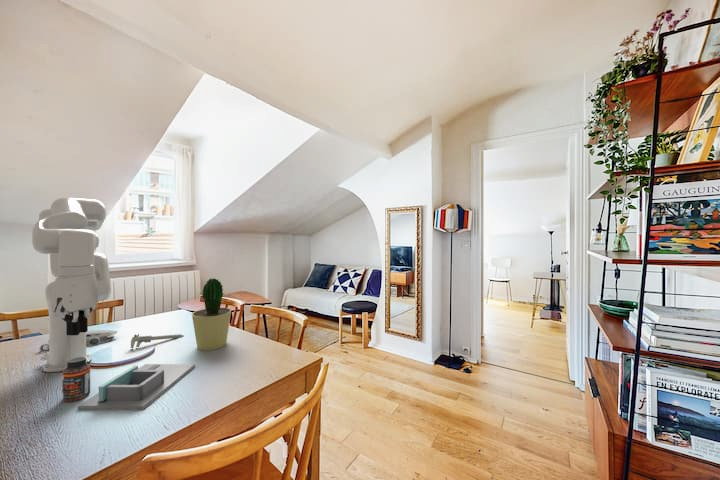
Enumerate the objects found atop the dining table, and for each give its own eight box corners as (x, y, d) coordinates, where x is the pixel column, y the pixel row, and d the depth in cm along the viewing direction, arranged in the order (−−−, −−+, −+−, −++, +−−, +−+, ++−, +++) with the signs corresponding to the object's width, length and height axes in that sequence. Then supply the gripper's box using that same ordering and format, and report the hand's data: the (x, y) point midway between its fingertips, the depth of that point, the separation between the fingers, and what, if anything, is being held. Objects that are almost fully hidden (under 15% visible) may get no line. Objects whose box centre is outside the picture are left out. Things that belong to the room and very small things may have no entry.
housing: (77, 409, 79) (77, 391, 79) (145, 366, 104) (145, 353, 104) (143, 409, 79) (143, 391, 79) (195, 366, 105) (195, 353, 104)
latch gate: (98, 400, 80) (98, 386, 80) (134, 377, 93) (134, 365, 93) (103, 400, 80) (103, 386, 80) (138, 377, 93) (137, 365, 93)
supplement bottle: (58, 405, 81) (57, 365, 80) (67, 394, 86) (67, 357, 86) (86, 399, 83) (85, 361, 83) (93, 389, 89) (93, 353, 88)
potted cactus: (187, 344, 125) (188, 276, 125) (224, 336, 136) (225, 273, 135) (196, 355, 114) (196, 281, 114) (236, 346, 124) (236, 277, 124)
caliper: (131, 350, 119) (131, 335, 119) (130, 349, 120) (130, 335, 120) (184, 336, 136) (184, 323, 136) (183, 336, 136) (183, 323, 136)
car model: (47, 344, 124) (47, 333, 124) (119, 335, 137) (119, 324, 137) (36, 354, 115) (36, 341, 115) (114, 342, 127) (114, 331, 127)
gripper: (88, 268, 92) (88, 325, 92) (33, 275, 76) (34, 343, 76) (112, 268, 92) (112, 325, 92) (62, 275, 76) (63, 343, 77)
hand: (77, 333), depth 84 cm, fingers closed
